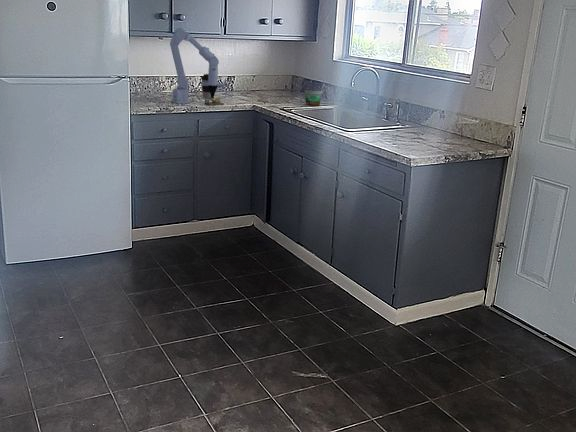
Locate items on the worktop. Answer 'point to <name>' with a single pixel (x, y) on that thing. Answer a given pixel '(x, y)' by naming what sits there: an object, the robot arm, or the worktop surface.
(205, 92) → the coffee cup
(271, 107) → the worktop surface
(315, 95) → the food container
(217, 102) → the plate
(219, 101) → the bar
